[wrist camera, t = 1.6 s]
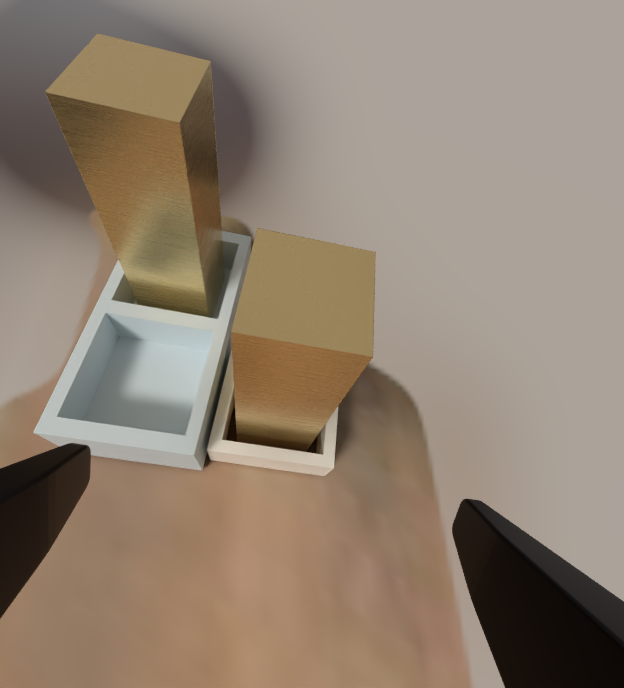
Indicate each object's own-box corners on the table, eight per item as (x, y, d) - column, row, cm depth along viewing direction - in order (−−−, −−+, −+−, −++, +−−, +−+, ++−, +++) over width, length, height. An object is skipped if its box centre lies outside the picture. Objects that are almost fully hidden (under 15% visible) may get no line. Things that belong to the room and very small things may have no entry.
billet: (305, 451, 21) (372, 357, 10) (237, 441, 21) (231, 331, 10) (313, 386, 23) (375, 248, 12) (250, 375, 23) (258, 224, 12)
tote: (324, 476, 21) (333, 468, 18) (210, 460, 20) (206, 450, 18) (332, 374, 24) (341, 357, 22) (235, 357, 23) (234, 338, 21)
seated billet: (210, 327, 22) (179, 122, 11) (143, 315, 22) (45, 92, 11) (225, 275, 24) (211, 59, 13) (164, 263, 24) (99, 31, 13)
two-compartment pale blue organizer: (202, 470, 20) (193, 455, 16) (71, 452, 19) (33, 432, 15) (249, 276, 26) (251, 236, 23) (154, 258, 26) (140, 214, 22)
